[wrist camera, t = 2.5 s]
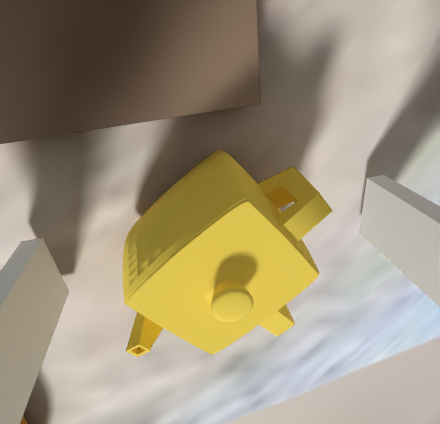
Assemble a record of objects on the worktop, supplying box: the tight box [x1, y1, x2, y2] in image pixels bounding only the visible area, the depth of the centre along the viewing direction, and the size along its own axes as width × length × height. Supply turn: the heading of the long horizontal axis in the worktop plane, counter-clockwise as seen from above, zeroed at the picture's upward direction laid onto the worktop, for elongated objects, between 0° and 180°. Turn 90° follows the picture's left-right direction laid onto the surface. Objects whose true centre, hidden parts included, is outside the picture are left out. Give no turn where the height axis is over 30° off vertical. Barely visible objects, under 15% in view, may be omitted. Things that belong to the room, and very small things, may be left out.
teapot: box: [123, 150, 332, 357], centre depth 11 cm, size 8×6×5 cm
